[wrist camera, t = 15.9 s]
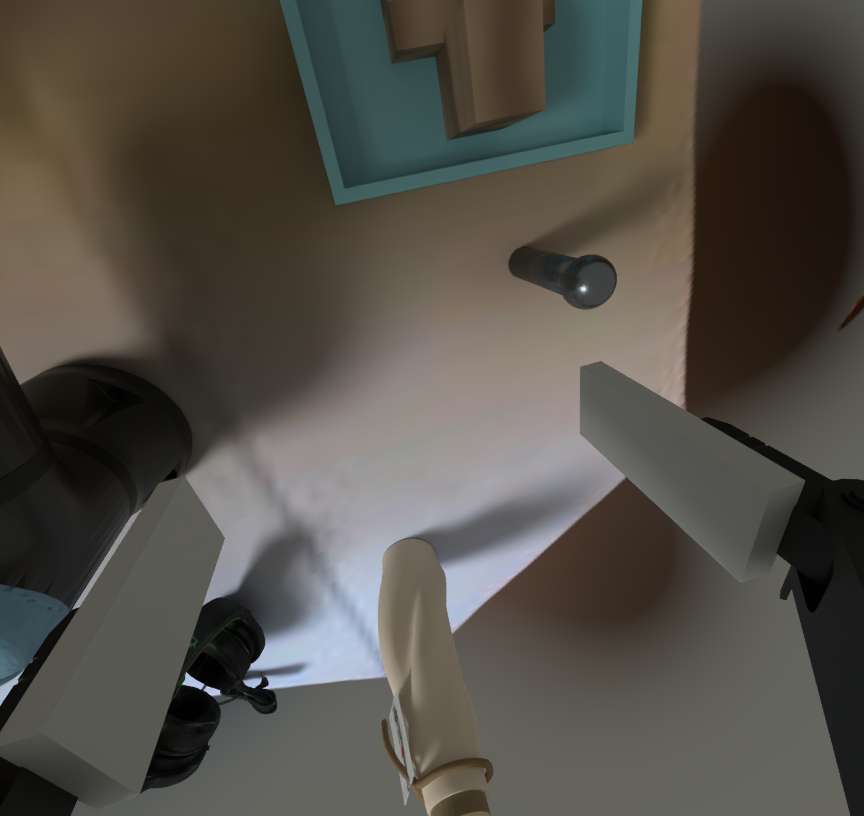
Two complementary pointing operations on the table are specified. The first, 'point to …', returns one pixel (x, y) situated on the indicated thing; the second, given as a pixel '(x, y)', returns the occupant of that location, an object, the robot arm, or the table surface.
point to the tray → (421, 102)
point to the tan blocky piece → (476, 56)
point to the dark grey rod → (567, 275)
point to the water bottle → (428, 687)
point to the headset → (217, 668)
